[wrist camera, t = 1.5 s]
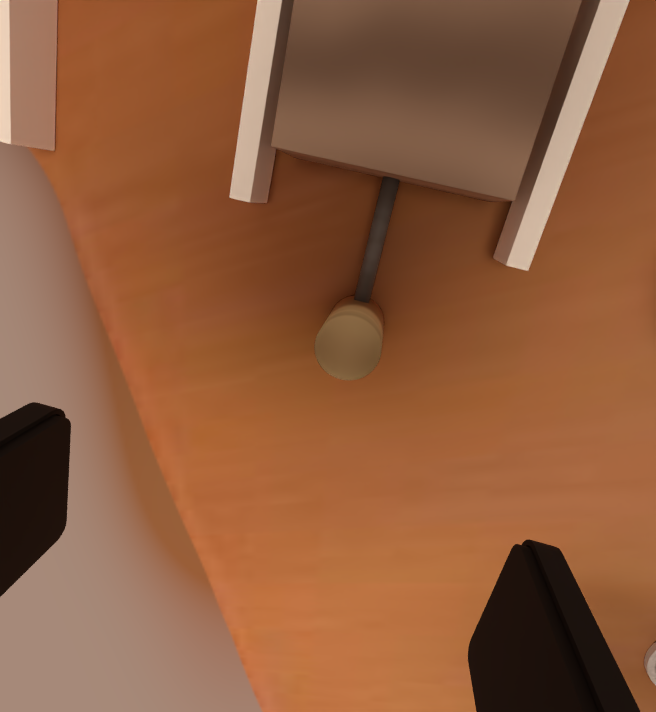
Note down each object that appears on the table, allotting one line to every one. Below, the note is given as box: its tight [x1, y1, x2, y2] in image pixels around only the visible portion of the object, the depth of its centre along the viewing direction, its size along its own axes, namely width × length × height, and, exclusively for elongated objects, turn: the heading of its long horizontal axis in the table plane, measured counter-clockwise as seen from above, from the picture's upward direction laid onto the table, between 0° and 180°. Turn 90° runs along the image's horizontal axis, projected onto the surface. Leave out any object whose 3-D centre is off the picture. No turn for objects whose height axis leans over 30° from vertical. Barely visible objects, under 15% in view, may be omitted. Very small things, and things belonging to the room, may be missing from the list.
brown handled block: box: [271, 0, 582, 380], centre depth 21 cm, size 18×10×5 cm, turn 168°
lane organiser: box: [0, 0, 630, 271], centre depth 20 cm, size 13×26×3 cm, turn 77°
